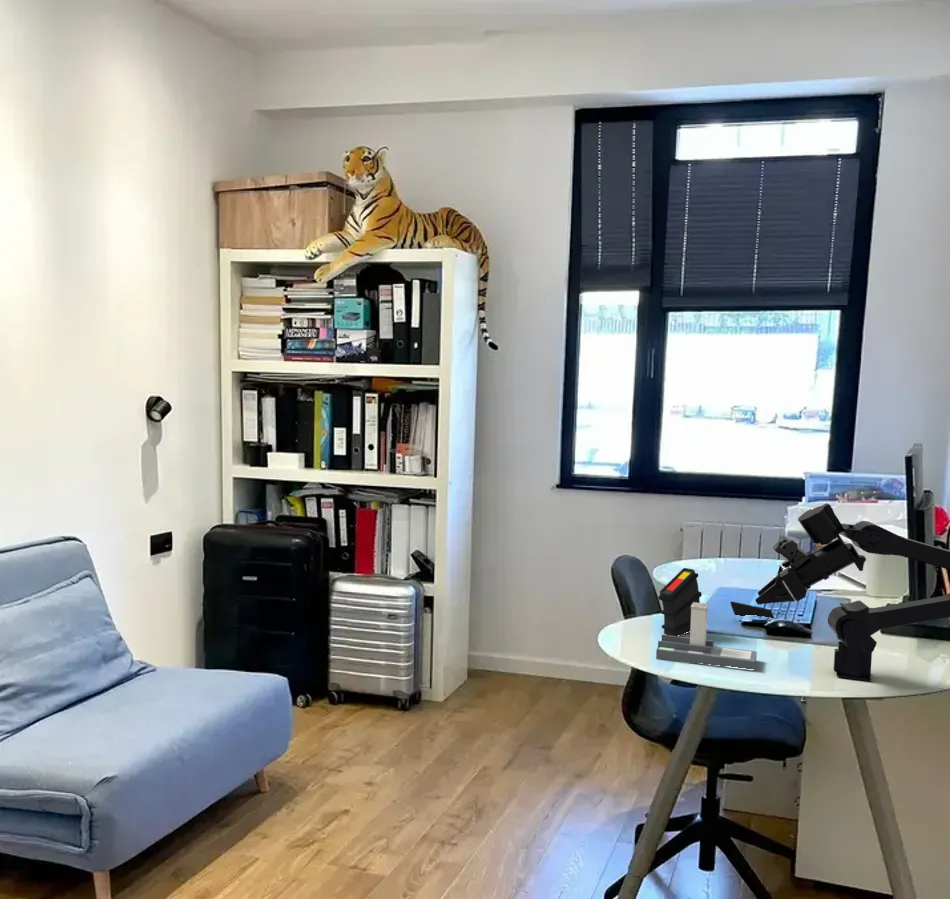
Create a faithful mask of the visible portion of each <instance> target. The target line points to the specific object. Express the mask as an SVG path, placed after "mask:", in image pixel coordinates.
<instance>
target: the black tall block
mask: <svg viewBox="0 0 950 899" xmlns="http://www.w3.org/2000/svg"><path fill="white" fill-rule="evenodd" d="M698 577H699V574H698V573H697V572H696V570H695V569H692V568H687V567H683V568H682V569H681V570H680V571H678V573H677V574H676V575H675V576H674V577H672V579H671V580H670V581H669V582H668V583H667V584H666V585H664V587H662V589H660V590H659V595H658V596H657V597H658V600H659V601H661V603H662V608H663V609H662V610H661V615H663V620H664V621H663V624H662V625H661V629H663V635H665V634H666V635H671V636H678V635H680V636H682V635H681V634H684V633H686V632H689V631H690V627H691V605H692V603H693V602H695V603H701V599H700V598H701V597H702V596H703V595H702V592H701V591H699V583H698ZM684 635H685V634H684Z"/></svg>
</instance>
